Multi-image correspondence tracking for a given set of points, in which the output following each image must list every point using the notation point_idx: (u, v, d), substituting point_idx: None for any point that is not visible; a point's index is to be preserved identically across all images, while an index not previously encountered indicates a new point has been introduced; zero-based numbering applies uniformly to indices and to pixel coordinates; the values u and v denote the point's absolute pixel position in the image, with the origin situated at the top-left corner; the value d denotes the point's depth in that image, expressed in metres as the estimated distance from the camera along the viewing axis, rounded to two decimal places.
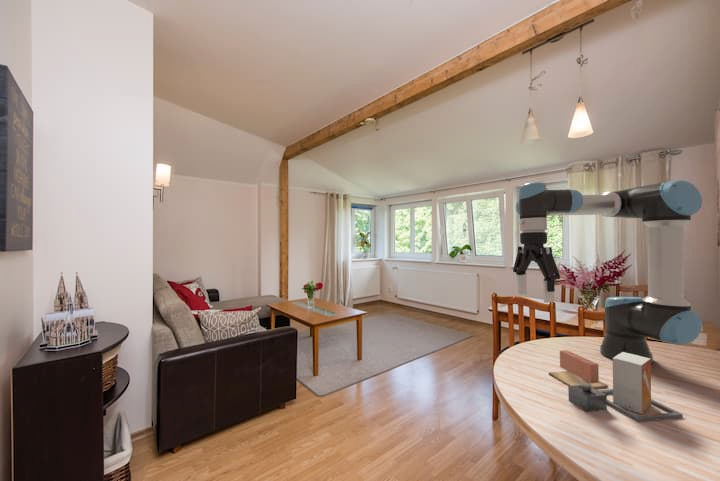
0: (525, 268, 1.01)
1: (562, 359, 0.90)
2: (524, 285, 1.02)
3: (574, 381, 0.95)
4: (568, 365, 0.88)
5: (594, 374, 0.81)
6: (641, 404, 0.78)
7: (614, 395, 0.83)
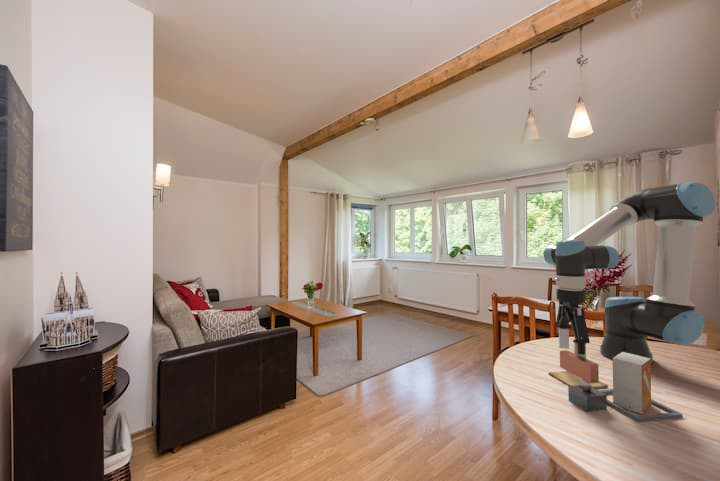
0: (566, 323, 1.00)
1: (562, 359, 0.90)
2: (566, 339, 1.01)
3: (574, 381, 0.95)
4: (568, 365, 0.88)
5: (594, 374, 0.81)
6: (641, 404, 0.78)
7: (614, 395, 0.83)
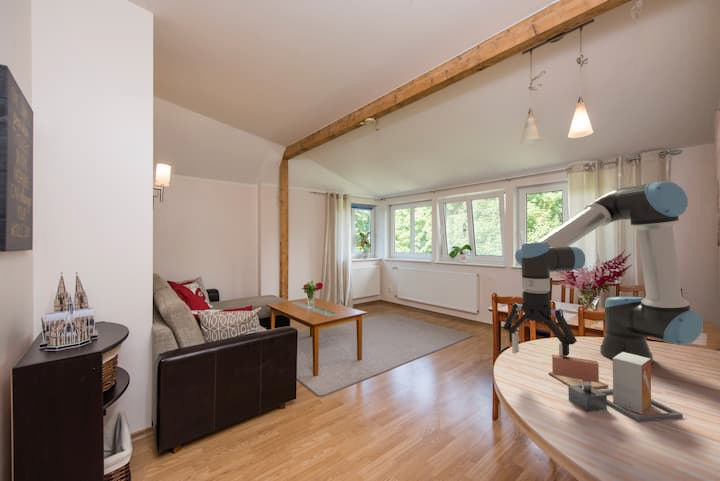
0: (519, 326, 0.98)
1: (556, 366, 0.86)
2: (517, 343, 0.99)
3: (574, 381, 0.95)
4: (565, 370, 0.85)
5: None
6: (641, 404, 0.78)
7: (614, 395, 0.83)
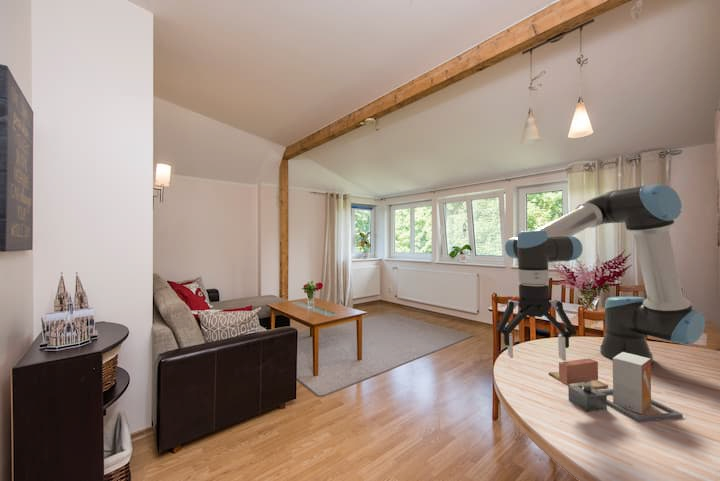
0: None
1: (569, 374, 0.81)
2: None
3: None
4: (576, 376, 0.81)
5: None
6: (641, 404, 0.78)
7: (614, 395, 0.83)
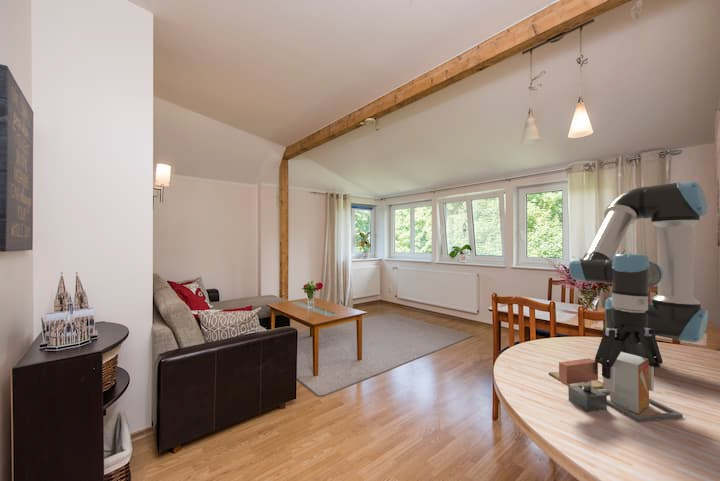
0: None
1: (569, 374, 0.81)
2: None
3: None
4: (576, 376, 0.81)
5: None
6: (638, 404, 0.78)
7: (611, 395, 0.83)
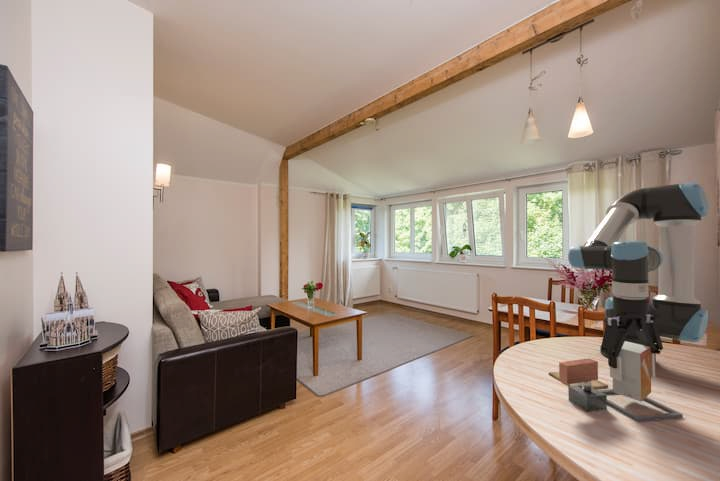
0: None
1: (569, 374, 0.81)
2: None
3: None
4: (576, 376, 0.81)
5: None
6: (640, 392, 0.79)
7: (613, 383, 0.84)
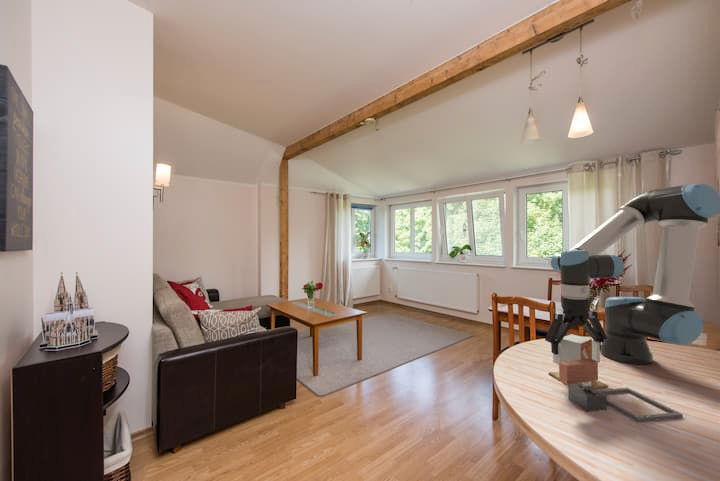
0: None
1: (569, 374, 0.81)
2: None
3: None
4: (576, 376, 0.81)
5: None
6: None
7: None
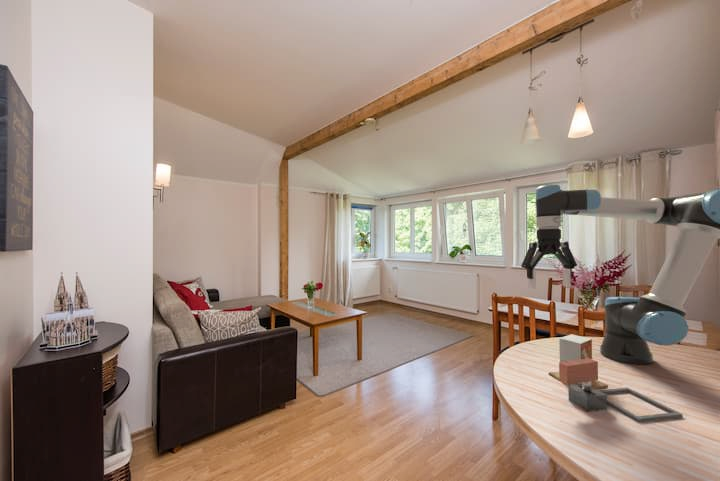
0: None
1: (569, 374, 0.81)
2: None
3: None
4: (576, 376, 0.81)
5: None
6: None
7: None
